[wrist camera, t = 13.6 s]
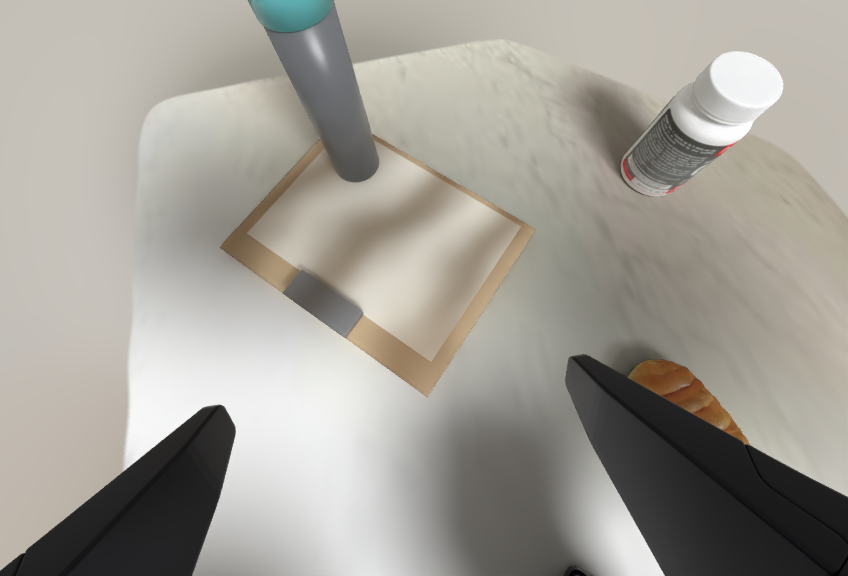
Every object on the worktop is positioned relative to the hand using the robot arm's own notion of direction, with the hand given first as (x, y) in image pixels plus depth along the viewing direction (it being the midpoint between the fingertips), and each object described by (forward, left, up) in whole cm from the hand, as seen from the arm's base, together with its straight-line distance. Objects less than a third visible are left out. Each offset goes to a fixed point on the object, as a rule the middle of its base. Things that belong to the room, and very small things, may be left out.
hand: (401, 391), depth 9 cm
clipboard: (+8, -7, -14) cm, 17 cm away
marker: (+13, -11, -12) cm, 21 cm away
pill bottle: (-6, -24, -14) cm, 28 cm away
